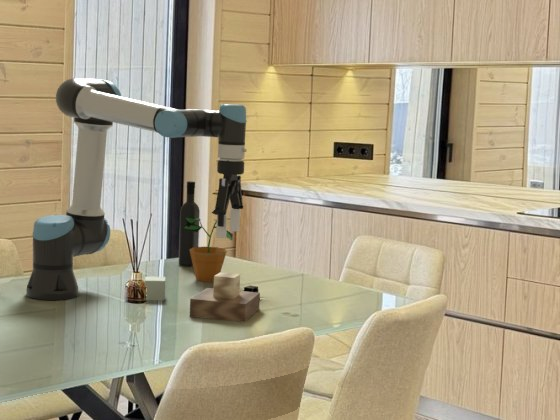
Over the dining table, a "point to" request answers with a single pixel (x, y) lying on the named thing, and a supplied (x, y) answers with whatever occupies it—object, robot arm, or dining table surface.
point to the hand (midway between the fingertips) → (227, 234)
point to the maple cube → (226, 285)
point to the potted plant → (206, 254)
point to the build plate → (251, 289)
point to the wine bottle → (187, 237)
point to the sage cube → (155, 288)
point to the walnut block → (224, 306)
